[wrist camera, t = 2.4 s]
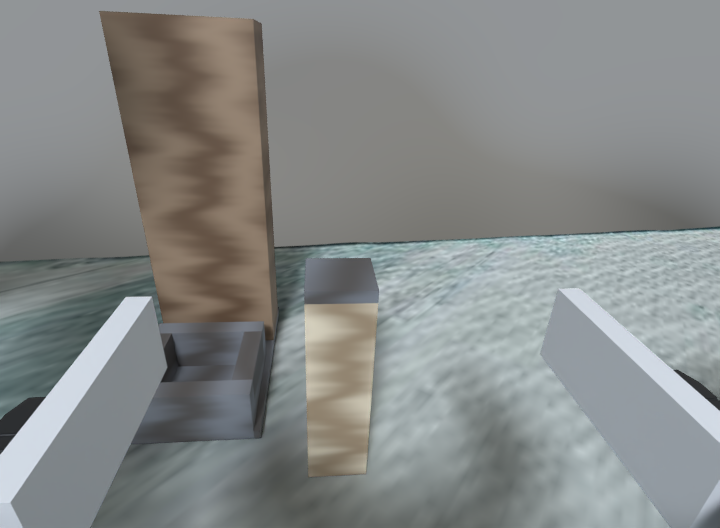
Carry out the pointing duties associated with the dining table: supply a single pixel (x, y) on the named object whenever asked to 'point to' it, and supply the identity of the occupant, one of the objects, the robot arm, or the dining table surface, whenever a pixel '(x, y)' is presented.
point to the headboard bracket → (201, 214)
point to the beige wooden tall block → (339, 362)
